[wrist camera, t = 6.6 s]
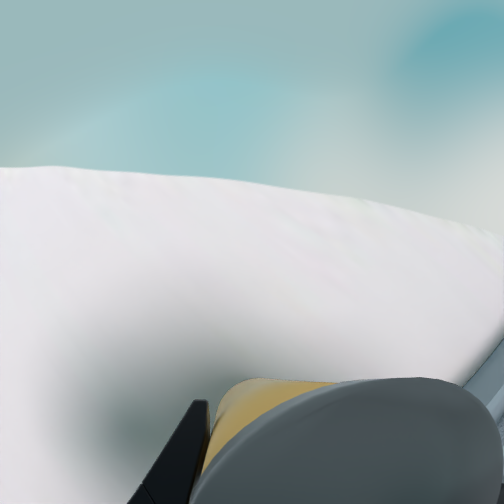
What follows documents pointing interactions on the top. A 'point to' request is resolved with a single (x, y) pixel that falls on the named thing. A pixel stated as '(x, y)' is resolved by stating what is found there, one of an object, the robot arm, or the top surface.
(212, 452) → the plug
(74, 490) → the top surface
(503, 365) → the bin
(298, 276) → the top surface
